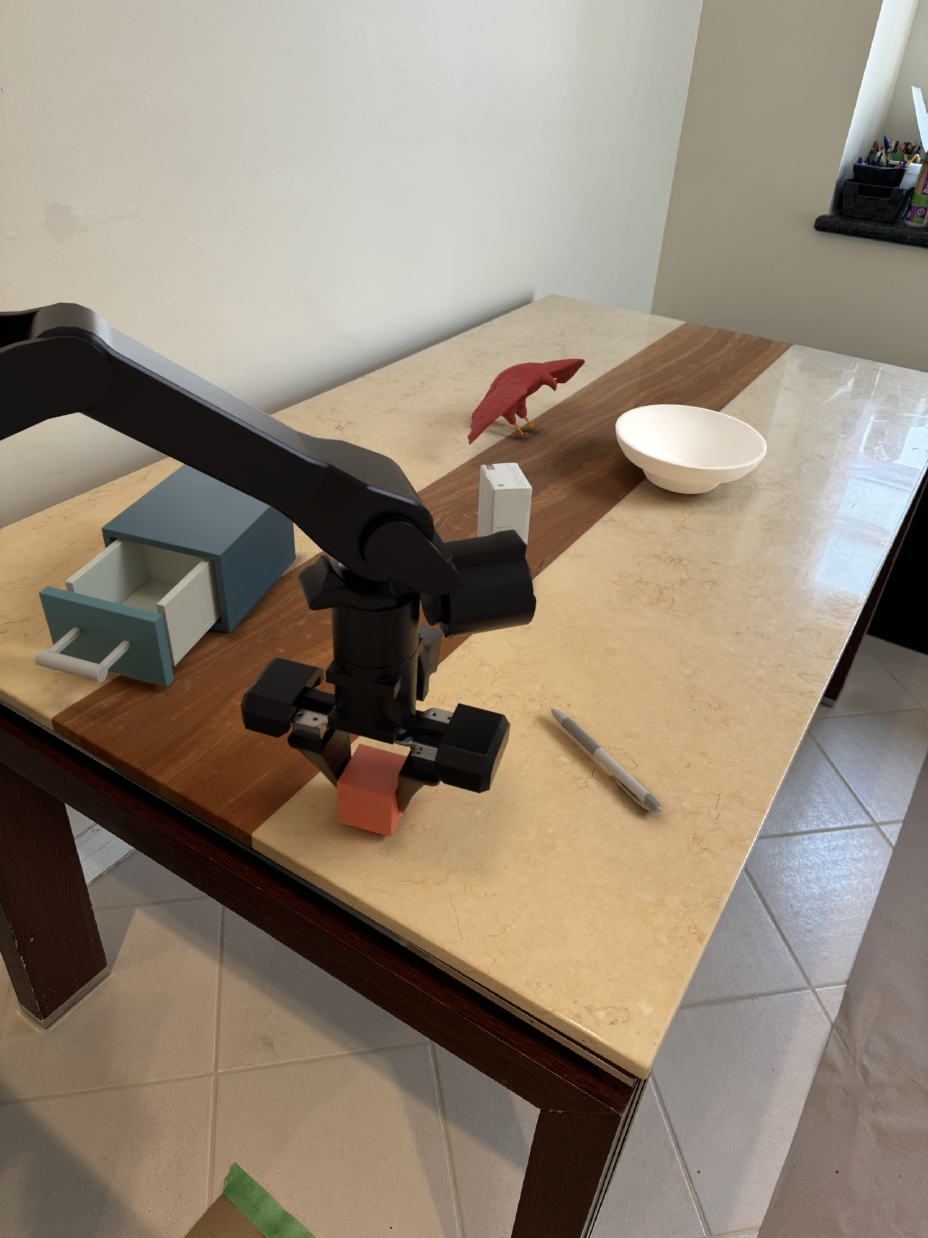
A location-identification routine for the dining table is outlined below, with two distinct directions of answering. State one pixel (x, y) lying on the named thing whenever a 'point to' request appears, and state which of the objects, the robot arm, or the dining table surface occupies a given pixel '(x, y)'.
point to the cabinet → (213, 536)
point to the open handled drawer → (130, 613)
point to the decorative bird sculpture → (519, 392)
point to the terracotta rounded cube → (370, 790)
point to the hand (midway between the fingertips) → (375, 800)
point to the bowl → (688, 446)
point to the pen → (609, 763)
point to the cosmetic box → (503, 500)
